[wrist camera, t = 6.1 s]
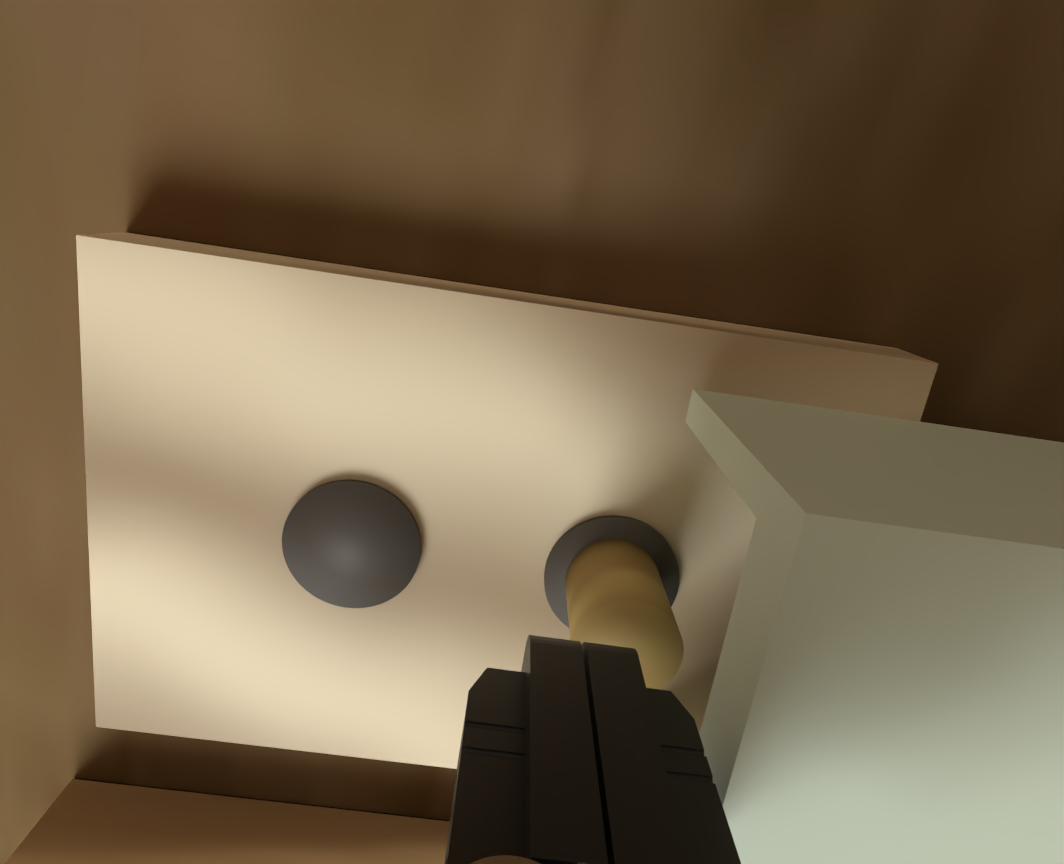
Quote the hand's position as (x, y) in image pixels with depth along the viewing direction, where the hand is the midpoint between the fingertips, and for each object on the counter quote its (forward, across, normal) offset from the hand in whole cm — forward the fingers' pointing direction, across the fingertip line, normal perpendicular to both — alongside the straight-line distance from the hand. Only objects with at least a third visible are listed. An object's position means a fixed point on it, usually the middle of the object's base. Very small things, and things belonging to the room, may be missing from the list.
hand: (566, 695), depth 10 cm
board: (+6, +1, 0) cm, 6 cm away
